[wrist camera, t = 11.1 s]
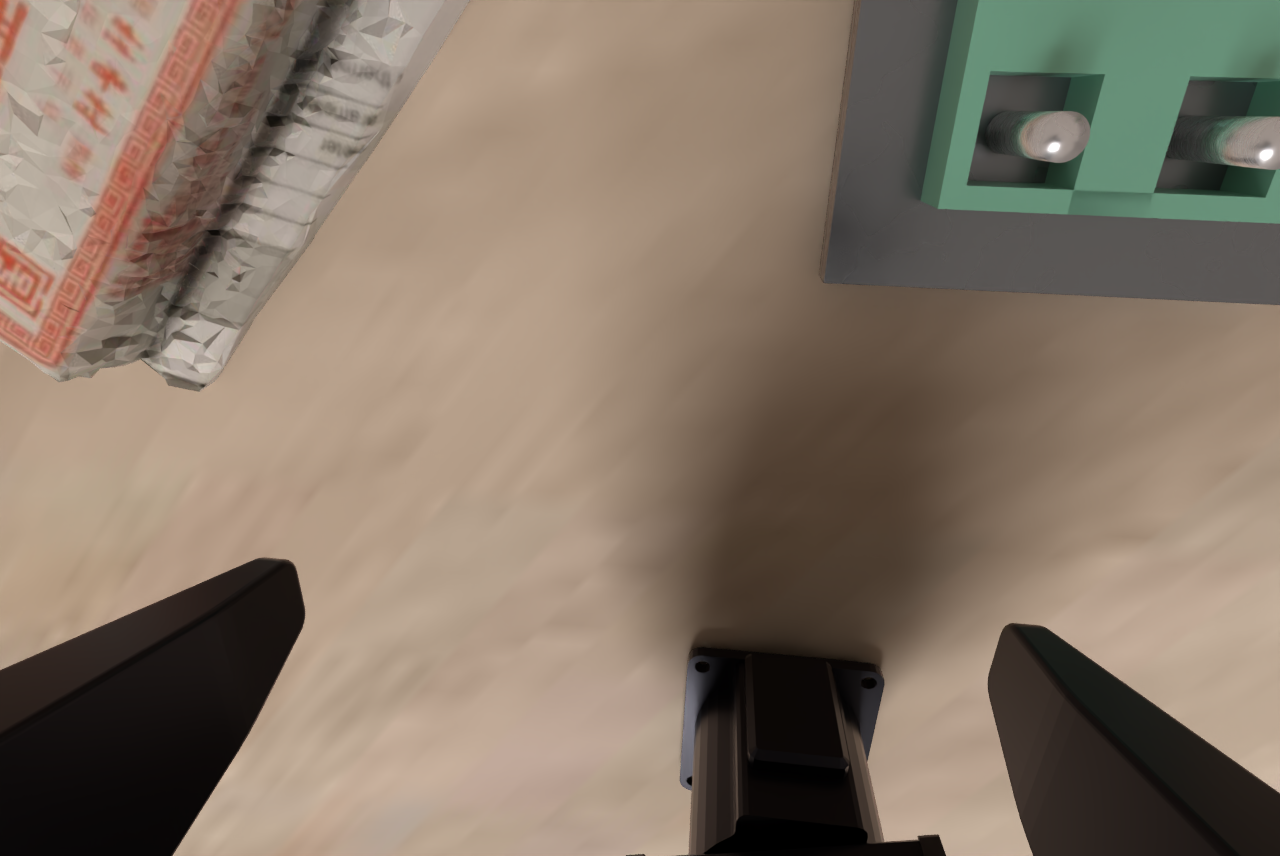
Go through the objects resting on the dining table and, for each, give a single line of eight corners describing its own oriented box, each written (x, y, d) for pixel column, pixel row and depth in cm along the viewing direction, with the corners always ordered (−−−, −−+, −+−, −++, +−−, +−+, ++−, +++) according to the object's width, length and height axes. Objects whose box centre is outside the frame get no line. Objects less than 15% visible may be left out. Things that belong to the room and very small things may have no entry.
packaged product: (107, 455, 18) (-276, 185, 16) (227, 389, 23) (-64, 168, 21) (519, -244, 12) (-51, -850, 10) (577, -147, 16) (194, -549, 14)
